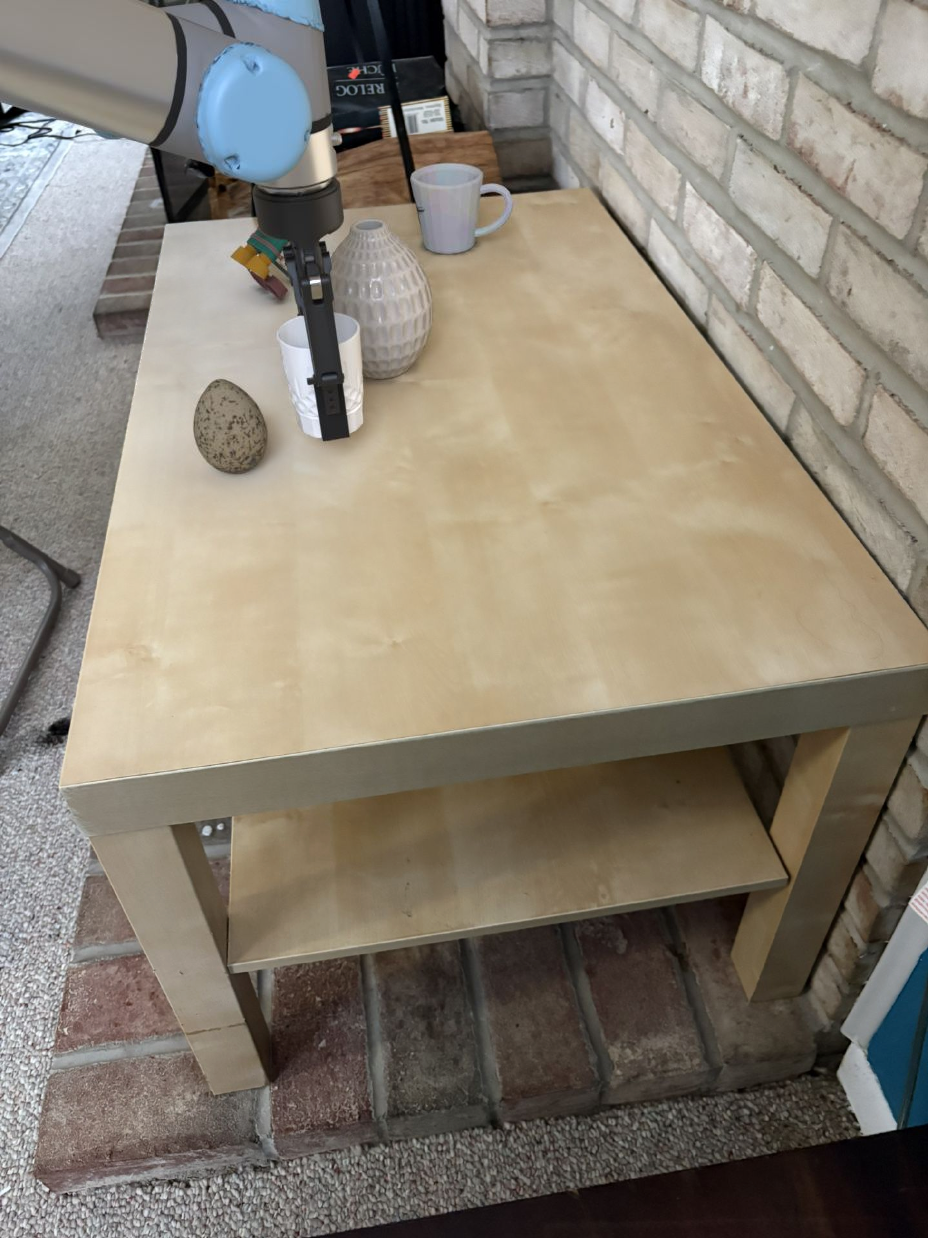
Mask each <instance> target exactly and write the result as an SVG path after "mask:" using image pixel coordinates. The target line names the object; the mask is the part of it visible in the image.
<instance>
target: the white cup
mask: <svg viewBox="0 0 928 1238" xmlns="http://www.w3.org/2000/svg"><path fill="white" fill-rule="evenodd" d="M334 318H335V325H336V332H337V338H338V345H339V352H340V359H341V366H342V372H343V373H344V377H345V379H344V383H343V389H344V396H345V404H346V411H347V419H348V426H349V434H350V435H351V434H352V433H354V432H356V431H357V430H358V429H359V428H360V427H361V426H362V425H363V424H364V418H365V417H364V415H365V414H364V413H365V411H364V394H365V393H364V376H363V375H362V356H361V341H360V327H359V324H358V322H357V321H356V320H355V319H354V318H352V317H350V316H348V315H345V314H341V313H335V312H334ZM276 339H277V343H278V349H279V352H280V357H281V361H282V365H283V371H284V374H285V379H286V383H287V386H288V390H289V394H290V395H289V396H290V399H291V401H292V402H291V403H292V404H293V406H294V408H293V409H294V412H295V417H296V421H297V426H298V427H299V429H300V430H301V431H302V432H303V434H305V435H308V436H310V437H312V438H317V439H322V436H321V429H320V423H319V417H318V410H317V404H316V398H315V391H314V385H308V384H307V379H306V378H311V377H313V374H314V372H313V366H312V361H311V355H310V349H309V344H308V338H307V332H306V326H305V321H304V316H301V315H300V316H297V315H296V316H294V317H291V318H290V319H288V320H286V321H285V322H283V323H282V324H281V325H280V326H279V327H278V328H277V330H276Z"/></svg>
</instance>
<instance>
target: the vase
mask: <svg viewBox="0 0 928 1238" xmlns="http://www.w3.org/2000/svg"><path fill="white" fill-rule="evenodd" d="M330 258H331V264H332V270H331V272H330V276H331V282H332V288H333V294H334V300H333V302H332V304H333V311H334V312H335V313H341V314H345V315H348V316H350V317H352V318H354V319H355V320H356V321H357V322H358V324H359V327H360V341H361V356H362V375H363V378H364V377H365V378H367V379H372V380H387V379H388V380H389V379H395V378H396V377H399V376H401V375H403V374H405V373H406V372H407V371H408V370H410V368H411V367H412V366H413V364H415V362H416V361H417V360H418V359H419V357H420V355H421V354H422V352H423V350H424V349H425V347H426V344H427V343H428V340H429V337H430V335H431V331H432V326H433V321H434V301H433V292H432V288H431V287H432V286H431V282H430V280H429V276H428V275H427V272H426V270H425V269H424V267H423V264H422V262H421V260H420V259H419V258H418V256H417V254H416V252H414V251H413V249H412V248H411V247H410V246H409V245H408V244H407V243H406V242H405V241H404V240H403V239H402V238H401V237H399V236H398V235H396V234H395V233H394V232H392V231H391V229H390V227H389V224H388V223H387V222H386V221H384V220H381V219H377V218H367V219H361V220H358V221H356V222H354V223H352V225H350V228H349V232H348V234H347V235H346V236H345V238H344V239H343V240H342V241H341V242H340V243H339V244H338V246H337V247H336V248H335V249H334V251H332V254H331V255H330Z"/></svg>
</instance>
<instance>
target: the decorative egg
mask: <svg viewBox="0 0 928 1238" xmlns="http://www.w3.org/2000/svg"><path fill="white" fill-rule="evenodd" d="M192 423H193V424H192V426H193V428H192V429H193V437H194V441H195V444H196V447H197V449H198V451H199V453H200V454H201V456H202V457H203V459H204V460H205V461H206V463H208V464H209V466H211V467H213V468H214V469H216V470H217V471H220V472H221V473H222V472H223V473H226V474H233V475H235V474H242V473H246V472H247V471H249V470H251V469H253V468H254V467H255V466H256V465H257V464H258V463H259V462H260V461H261V459H262V458H263V457H264V454H265V451H266V449H267V445H268V428H267V423H266V420H265V417H264V415H263V413H262V410H261V408H260V407H259V405H258V403H257V402H256V401H255V400H254V399H253V397H251V396H250V394H249V393H248V392H247V391H245V389H243V388H242V387H240V386H238V385H237V384H236V383H234V382H233V381H230V380H227V379H225V378H218V379H214V380H213V381H211V382H210V383H209V384H208V385H207V386H206V388H205V390H203V392H202V394H201V395H200V397H199V399H198V401H197V403H196V406H195V410H194V415H193V422H192Z"/></svg>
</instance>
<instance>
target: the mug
mask: <svg viewBox="0 0 928 1238" xmlns="http://www.w3.org/2000/svg"><path fill="white" fill-rule="evenodd" d="M409 180H410V184H411V189H412V194H413V198H414V203H415V209H416V213H417V217H418V218H417V219H418V222H419V227H420V232H421V237H422V242H423V246H424V247H425V248H426V250H428V251H430V252H432V253H435V254H441V255H453V254H454V255H455V254H460V253H464V252H466V251H468V250H470V249H472V248H473V247H474V246H475V243H476V238H477V237H484V236H487V235H490V234H492V233H494V232H495V231H497V230H499V229H500V228H501V227H502V226H504V225H505V224H506V222H508V220H509V219H510V217H511V215H512V213H513V209H514V204H515V203H514V200H513V197H512V195H511V192H510V191H509V190H508V189H507V188H506V187H505V186H504V185H501V184H498V183H486V184H483V180H484V173H483V171H482V170H481V169H480V168H478V167H476V166H474V165H470V164H465V163H457V162H456V163H455V162H444V163H443V162H442V163H435V164H430V165H425V166H422V167H420V168H417V169H415V171H413V172H411V175H410V179H409ZM487 193H497V194H500V195H501V196H502V197H503V199H504V202H505V205H504V210H503V212H502V214H501V215H500V216H499V217H498V218H497V219H496V220H495V221H493V222H492V223H490V224H488V225H486V226H484V227H480V228H478V218H479V210H480V203H481V196H482V195H485V194H487Z"/></svg>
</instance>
